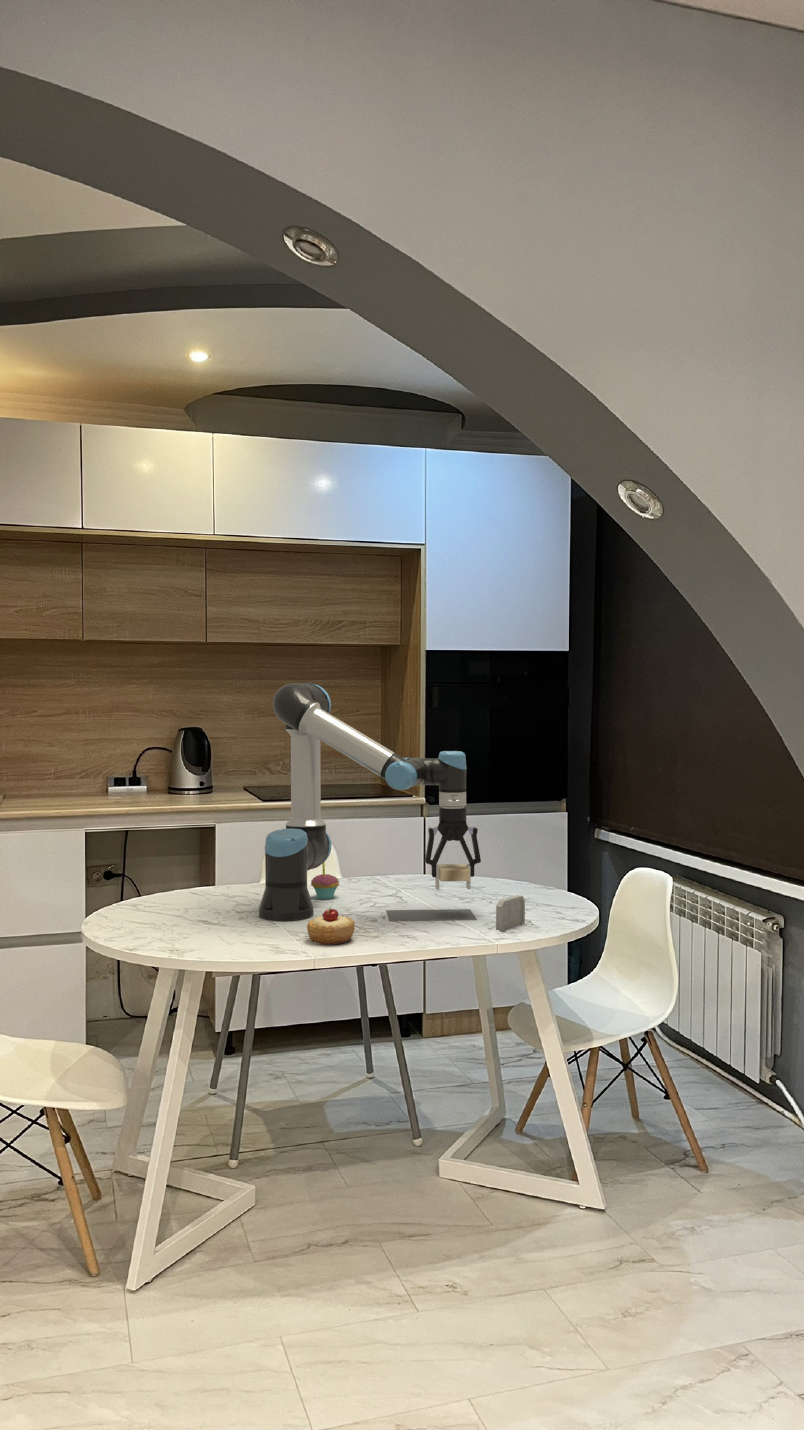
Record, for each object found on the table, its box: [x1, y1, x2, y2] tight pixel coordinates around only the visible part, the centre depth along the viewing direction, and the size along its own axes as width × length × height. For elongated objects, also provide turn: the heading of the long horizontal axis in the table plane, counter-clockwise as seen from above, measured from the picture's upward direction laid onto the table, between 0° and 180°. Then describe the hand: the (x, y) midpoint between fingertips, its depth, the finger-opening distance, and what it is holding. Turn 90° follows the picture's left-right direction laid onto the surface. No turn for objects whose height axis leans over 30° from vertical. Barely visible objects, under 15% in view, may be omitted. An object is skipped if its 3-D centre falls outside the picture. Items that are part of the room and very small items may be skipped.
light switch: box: [495, 894, 526, 932], centre depth 281 cm, size 2×12×8 cm, turn 143°
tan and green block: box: [438, 863, 470, 882], centre depth 292 cm, size 8×3×10 cm
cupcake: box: [310, 861, 340, 900], centre depth 318 cm, size 9×8×12 cm
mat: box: [385, 908, 478, 922], centre depth 292 cm, size 24×14×1 cm, turn 95°
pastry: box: [306, 906, 355, 946], centre depth 265 cm, size 12×12×9 cm
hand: (452, 888), depth 292 cm, fingers closed on tan and green block, 8 cm apart
